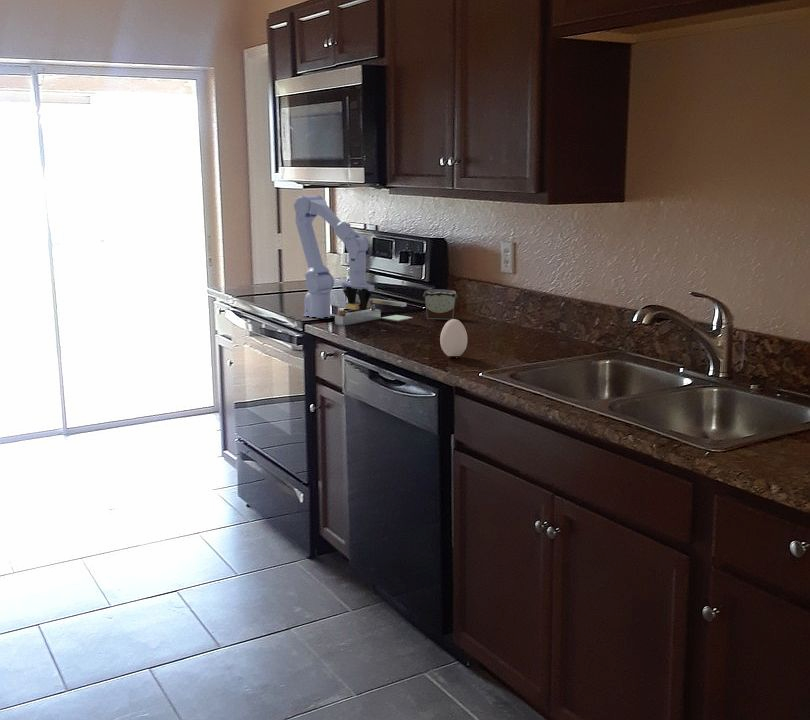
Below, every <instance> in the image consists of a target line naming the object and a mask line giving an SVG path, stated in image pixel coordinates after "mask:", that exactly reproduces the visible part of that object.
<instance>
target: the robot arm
mask: <svg viewBox="0 0 810 720" xmlns="http://www.w3.org/2000/svg"><path fill="white" fill-rule="evenodd" d="M293 208H294V212H295V225H296V228H297V231H298V232H297V233H298V236H299V240H300V242H301V246H302V248H303V249H302V250H303V253H304V257H305V259H306V261H305V262H306V263H307V267H308V268H307V270H306V272H305V275H304V276H305V287H306V290H307V291H308V292H307V293H306V294H305V296H304V314H303V315H302V316H303V317H306V316H309V317H308V318H312V317H317V318H316V319H318V318H322V317H328V318H331V317H330V316H333V317H335V315H336V314H332V313H331V292H332V289H333V288H334V285H335V279H334V276H333V275H332V274H331V272H330V269H329V268H328V267H327V266H326V265H325V264H324V262H323V259H322V255H321V252H320V249H319V245H318V242H317V238H316V234H315V231H314V227H313V222H314V220H315V218H317V216H320V217H321V218H323V220H324V221H326V223H328V225H330V226H331V227H332V228H333V229H334V230H333V231H334V235H335V236H337V238H338V239H339V240H340V241H341V242H342V243H343V244H344V245H345V249H346V252H347V254H348V258H349V281H345V280H343V281H341V288H343V289H342V290H343V291H342V292H343V293H344V295H345V297H346V300H347V303H352V302H357V301H356V300H357V295H358V297H359V301H360V309H359V310H360V311H362V310H367V309H368V308H367V304H368V302H369V299H371V295H372V294H373V292H374V291H375V285H374V284H370V283H368V282H366V281H367V275H366V274H367V273H366V270H367V269H366V268H367V265H366V263H367V262H366V261H367V257H366V256H367V253H366V252H367V251H368V250H369V246H370V243H369V241H368V238H367V237H366V236H363V235H360V234H359V232H356V231H355V229H353V227H351V224H350V223H349V222H346V221H341V220H340V219H339V216H337V215H336V214H335V213H334V212H333V211H332V209H331V208H330V207H329V206H328V204H327V201H326V199H324V198H323V197H322V196H321V195H320V194H315V195H299V196H297V198H296V200H295V201H294V203H293ZM322 319H323V318H322Z"/></svg>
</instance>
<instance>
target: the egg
mask: <svg viewBox="0 0 810 720" xmlns="http://www.w3.org/2000/svg"><path fill="white" fill-rule="evenodd" d="M439 341H440V342H439V343H440V348H441V350H442V351H443V353H444V354H445V355H446V356H447V357H449V356H459V357H460V356H461V355H462V354H464V352H465V351H466V349H467V347H468V346H467V345H468V333H467V331H466V328H465V326H464V324H463V323H462V322H461V321H460V320H459V319H455V318H453V319H448V321H447V322H445V324H444V326H443V327H442V330H441V332H440V337H439Z"/></svg>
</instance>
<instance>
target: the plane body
mask: <svg viewBox="0 0 810 720" xmlns="http://www.w3.org/2000/svg"><path fill="white" fill-rule="evenodd" d="M369 303H370V302H369ZM381 313H382V312H381V309H377V308H376V303H370V308H367V309H366V310H355V311H352V312H346V309H344V310H342V309H341V310H338V314H334V315H335V316H334V324H335V325H337V326H343V327H344V326H347V325H352V324H353V325H354V324H359V323H365V322H368V321H369V322H370V321H375V320H381V319H382V317H381V315H382V314H381Z"/></svg>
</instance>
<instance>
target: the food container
mask: <svg viewBox="0 0 810 720" xmlns="http://www.w3.org/2000/svg"><path fill="white" fill-rule="evenodd" d="M422 297H423V298H424V300H425V309H426V310H425V311H426V318H427V319H426V320H452V319H454V314H455V304H456V298H458V295H457V292H456V291H455V290H451V289H428V290H425V291H424V293H423V295H422Z"/></svg>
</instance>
